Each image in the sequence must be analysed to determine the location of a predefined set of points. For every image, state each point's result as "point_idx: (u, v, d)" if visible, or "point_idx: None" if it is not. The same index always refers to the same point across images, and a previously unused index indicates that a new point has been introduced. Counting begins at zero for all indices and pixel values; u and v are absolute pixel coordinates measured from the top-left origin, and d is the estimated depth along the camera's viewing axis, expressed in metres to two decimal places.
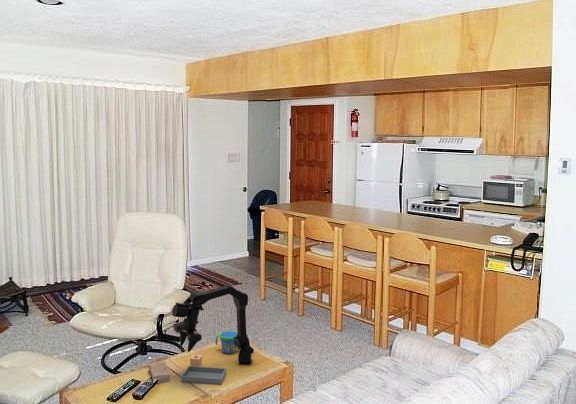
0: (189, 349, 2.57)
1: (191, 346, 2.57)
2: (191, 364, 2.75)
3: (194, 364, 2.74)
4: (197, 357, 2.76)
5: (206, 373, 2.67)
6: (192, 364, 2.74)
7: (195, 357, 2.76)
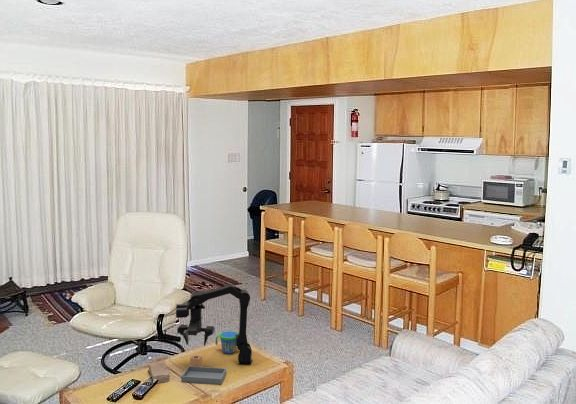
0: (205, 343, 2.75)
1: (206, 340, 2.75)
2: (191, 364, 2.75)
3: (194, 364, 2.74)
4: (197, 357, 2.76)
5: (206, 373, 2.67)
6: (192, 364, 2.74)
7: (195, 357, 2.76)
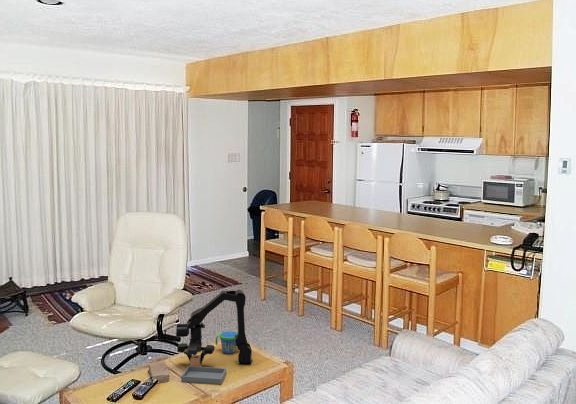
0: None
1: (203, 358, 2.76)
2: (191, 364, 2.75)
3: (194, 364, 2.74)
4: (197, 357, 2.76)
5: (206, 373, 2.67)
6: (192, 363, 2.74)
7: (195, 357, 2.76)
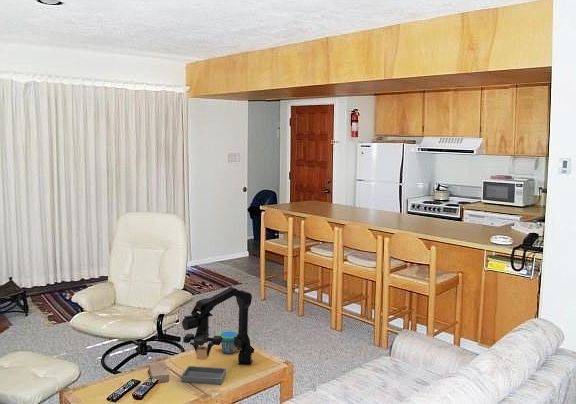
0: None
1: (210, 350, 2.63)
2: (197, 355, 2.61)
3: (201, 355, 2.61)
4: (204, 348, 2.63)
5: (206, 373, 2.67)
6: (198, 355, 2.61)
7: (202, 348, 2.63)
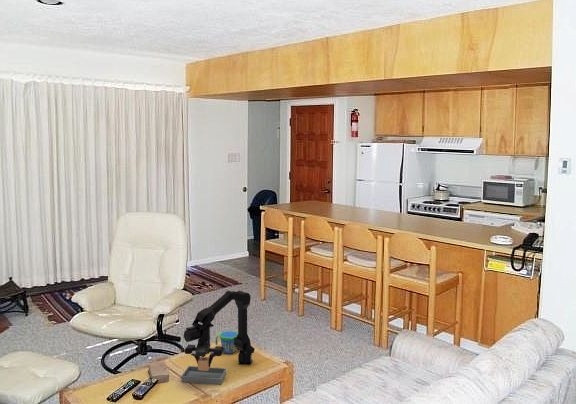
0: (210, 364, 2.62)
1: (211, 360, 2.62)
2: (199, 366, 2.60)
3: (202, 366, 2.60)
4: (205, 359, 2.62)
5: (206, 373, 2.67)
6: (200, 366, 2.60)
7: (203, 359, 2.62)
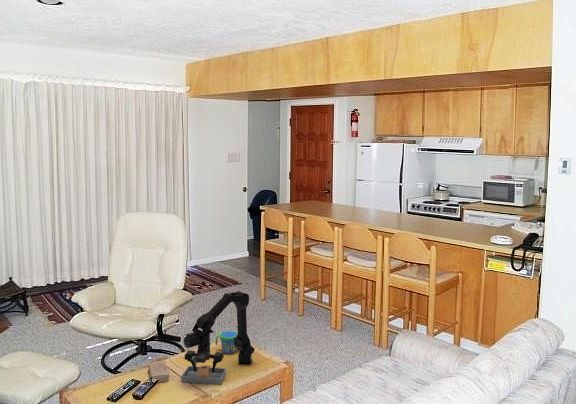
0: None
1: None
2: (199, 375, 2.61)
3: (202, 375, 2.61)
4: (205, 367, 2.62)
5: None
6: (200, 374, 2.61)
7: (203, 367, 2.62)
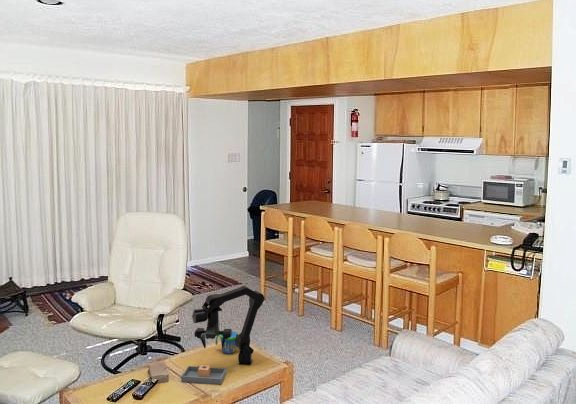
0: (223, 346, 2.72)
1: (224, 343, 2.72)
2: (199, 375, 2.61)
3: (202, 375, 2.61)
4: (205, 367, 2.62)
5: None
6: (200, 374, 2.61)
7: (203, 367, 2.62)
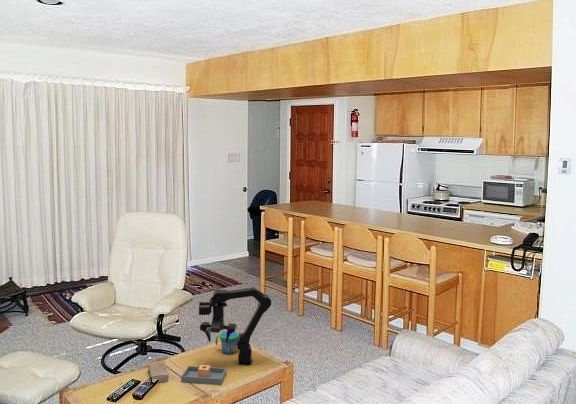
0: (227, 340, 2.77)
1: (228, 337, 2.78)
2: (199, 375, 2.61)
3: (202, 375, 2.61)
4: (205, 367, 2.62)
5: None
6: (200, 374, 2.61)
7: (203, 367, 2.62)
